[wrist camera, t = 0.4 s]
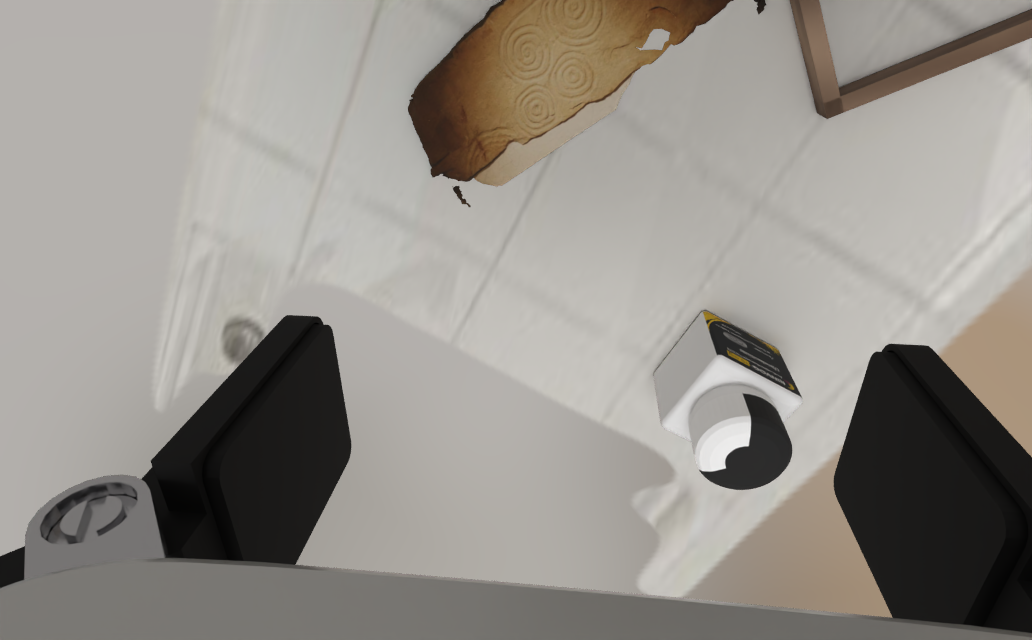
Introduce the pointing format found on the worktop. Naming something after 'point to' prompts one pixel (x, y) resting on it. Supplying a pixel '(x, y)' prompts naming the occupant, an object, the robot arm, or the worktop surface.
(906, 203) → the worktop surface
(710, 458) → the medicine bottle
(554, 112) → the parchment
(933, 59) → the rack
